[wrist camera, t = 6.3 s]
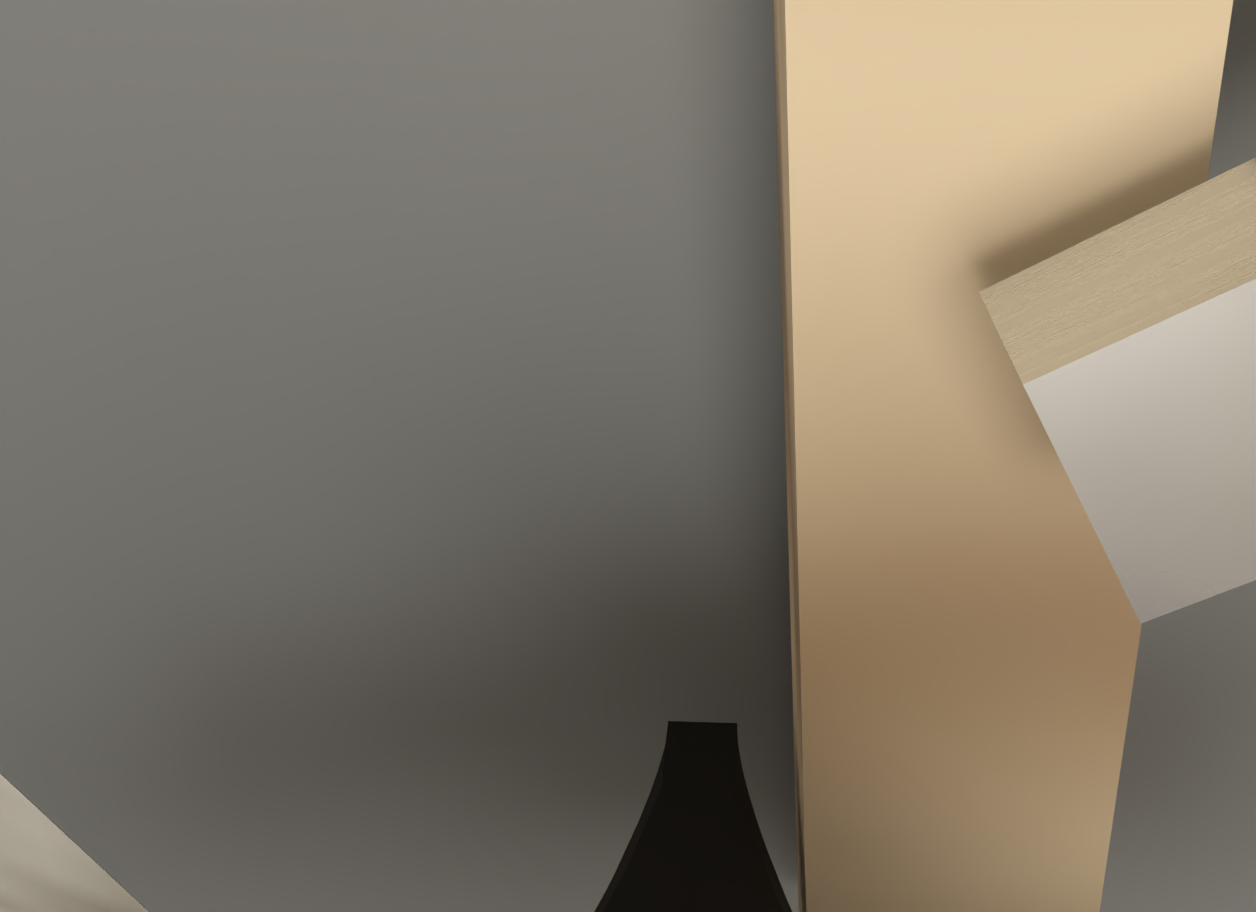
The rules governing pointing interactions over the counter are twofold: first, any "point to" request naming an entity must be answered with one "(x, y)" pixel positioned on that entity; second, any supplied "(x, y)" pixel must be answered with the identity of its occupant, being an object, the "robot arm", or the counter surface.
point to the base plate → (440, 455)
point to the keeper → (1152, 386)
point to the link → (957, 433)
